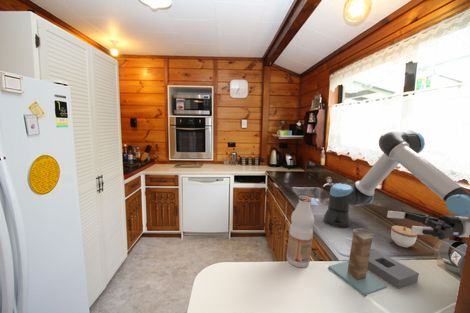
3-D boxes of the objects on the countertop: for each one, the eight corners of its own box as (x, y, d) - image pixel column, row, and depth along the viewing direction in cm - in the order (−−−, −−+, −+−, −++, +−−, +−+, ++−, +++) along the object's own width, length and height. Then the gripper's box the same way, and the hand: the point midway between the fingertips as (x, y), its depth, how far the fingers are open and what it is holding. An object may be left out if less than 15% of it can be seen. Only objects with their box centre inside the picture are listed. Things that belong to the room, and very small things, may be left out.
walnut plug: (346, 272, 88) (353, 229, 86) (355, 270, 90) (361, 227, 88) (357, 280, 84) (364, 235, 81) (366, 278, 86) (373, 233, 83)
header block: (354, 261, 98) (355, 252, 97) (372, 256, 103) (373, 248, 102) (397, 290, 82) (399, 280, 81) (416, 282, 87) (418, 273, 86)
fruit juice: (283, 262, 94) (290, 197, 90) (289, 252, 102) (296, 192, 98) (306, 271, 89) (315, 203, 85) (311, 259, 97) (319, 196, 93)
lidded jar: (419, 251, 110) (423, 233, 109) (395, 247, 112) (398, 230, 111) (407, 240, 121) (410, 224, 119) (385, 237, 123) (388, 221, 121)
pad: (328, 268, 92) (328, 266, 92) (349, 262, 97) (349, 260, 97) (364, 296, 77) (364, 293, 77) (386, 288, 82) (387, 285, 82)
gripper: (487, 253, 75) (422, 248, 76) (427, 221, 100) (378, 216, 100) (493, 232, 74) (427, 227, 74) (430, 204, 98) (381, 200, 99)
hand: (399, 221), depth 87 cm, fingers open, 13 cm apart
